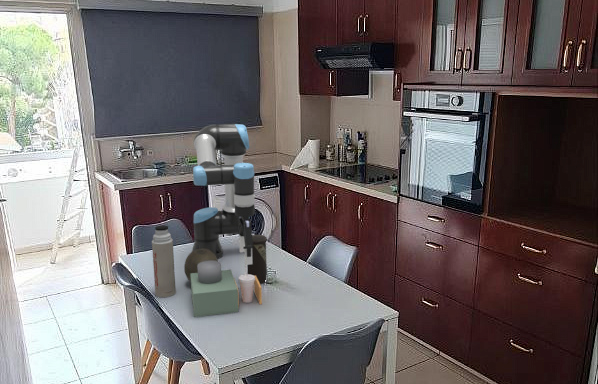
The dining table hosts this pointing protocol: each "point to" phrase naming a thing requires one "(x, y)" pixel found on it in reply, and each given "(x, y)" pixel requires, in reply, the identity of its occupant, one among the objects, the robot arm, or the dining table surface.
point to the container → (258, 258)
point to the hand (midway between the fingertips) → (245, 257)
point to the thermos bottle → (163, 262)
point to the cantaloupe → (197, 260)
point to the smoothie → (247, 286)
